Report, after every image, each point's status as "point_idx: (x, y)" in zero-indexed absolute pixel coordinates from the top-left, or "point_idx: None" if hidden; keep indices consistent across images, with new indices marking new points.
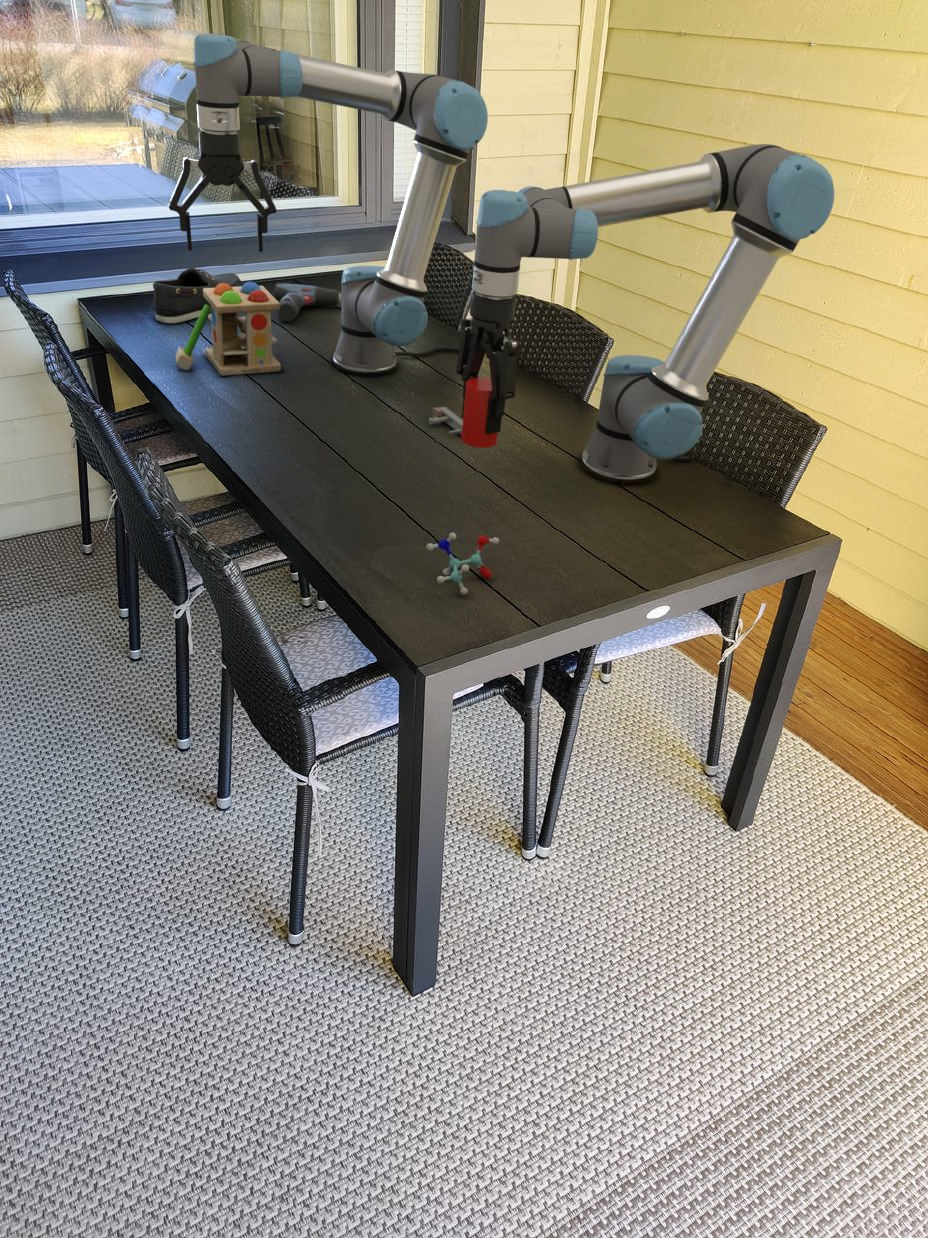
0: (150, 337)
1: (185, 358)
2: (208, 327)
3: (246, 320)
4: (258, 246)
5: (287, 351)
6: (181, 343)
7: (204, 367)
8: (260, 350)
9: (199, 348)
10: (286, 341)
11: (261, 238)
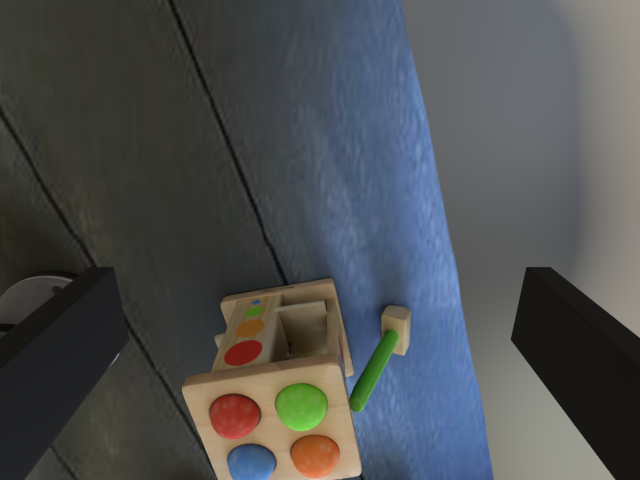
0: (433, 439)
1: (396, 316)
2: None
3: (271, 352)
4: (104, 296)
5: None
6: (387, 416)
7: (358, 319)
8: (252, 314)
9: None
10: None
11: (41, 308)
